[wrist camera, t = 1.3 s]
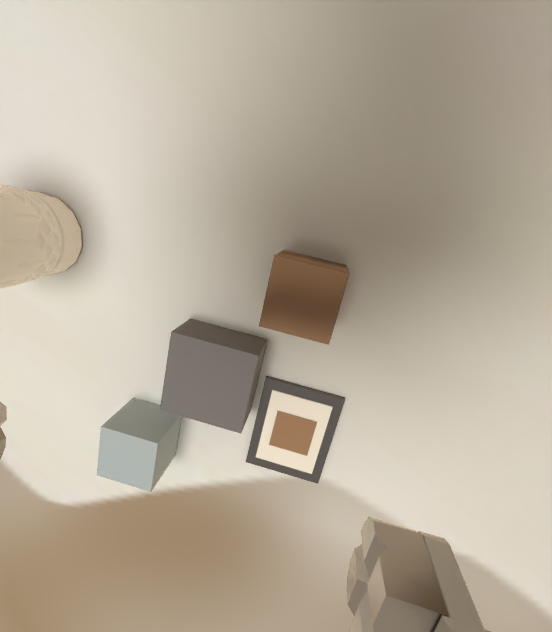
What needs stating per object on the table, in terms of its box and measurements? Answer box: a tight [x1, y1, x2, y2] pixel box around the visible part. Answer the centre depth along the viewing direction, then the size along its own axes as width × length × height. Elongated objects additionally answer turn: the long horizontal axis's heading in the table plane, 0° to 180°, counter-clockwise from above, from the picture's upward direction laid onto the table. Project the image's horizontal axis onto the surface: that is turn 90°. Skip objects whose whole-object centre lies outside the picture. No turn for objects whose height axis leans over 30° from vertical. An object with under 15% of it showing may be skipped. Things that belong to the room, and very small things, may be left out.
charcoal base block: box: [160, 319, 267, 433], centre depth 29 cm, size 7×7×4 cm
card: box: [246, 376, 345, 483], centre depth 31 cm, size 9×7×1 cm
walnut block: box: [259, 250, 349, 345], centre depth 25 cm, size 5×5×5 cm
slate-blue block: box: [97, 398, 182, 492], centre depth 31 cm, size 5×5×5 cm
